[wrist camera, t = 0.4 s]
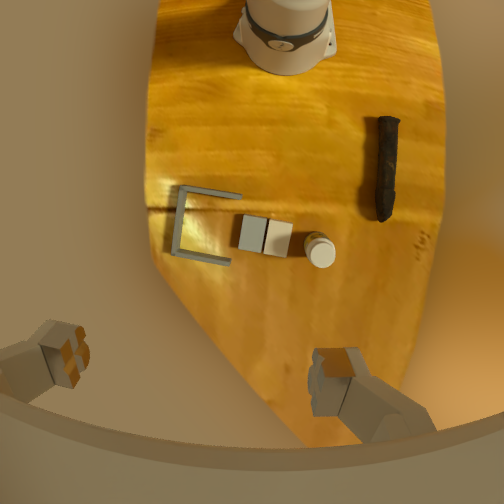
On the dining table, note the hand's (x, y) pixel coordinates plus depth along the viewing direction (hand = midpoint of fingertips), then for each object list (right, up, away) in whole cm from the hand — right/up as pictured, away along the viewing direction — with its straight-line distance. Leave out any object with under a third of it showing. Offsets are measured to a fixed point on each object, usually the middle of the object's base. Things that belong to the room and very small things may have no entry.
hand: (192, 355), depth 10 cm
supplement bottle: (+13, +5, +46) cm, 48 cm away
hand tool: (+26, +18, +42) cm, 53 cm away
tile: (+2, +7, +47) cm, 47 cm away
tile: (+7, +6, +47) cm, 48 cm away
